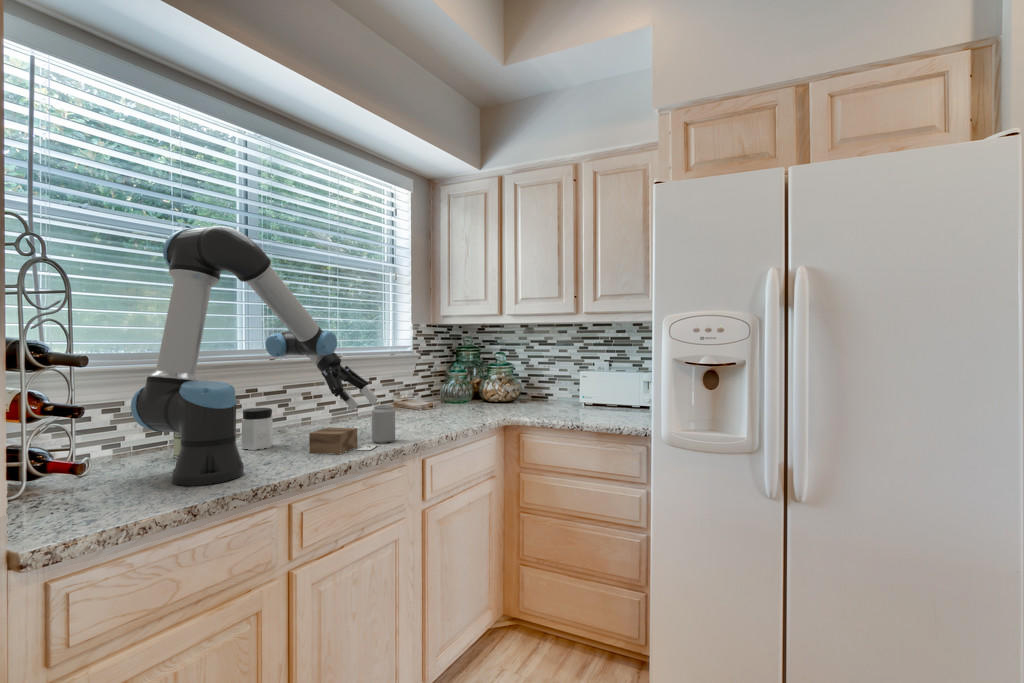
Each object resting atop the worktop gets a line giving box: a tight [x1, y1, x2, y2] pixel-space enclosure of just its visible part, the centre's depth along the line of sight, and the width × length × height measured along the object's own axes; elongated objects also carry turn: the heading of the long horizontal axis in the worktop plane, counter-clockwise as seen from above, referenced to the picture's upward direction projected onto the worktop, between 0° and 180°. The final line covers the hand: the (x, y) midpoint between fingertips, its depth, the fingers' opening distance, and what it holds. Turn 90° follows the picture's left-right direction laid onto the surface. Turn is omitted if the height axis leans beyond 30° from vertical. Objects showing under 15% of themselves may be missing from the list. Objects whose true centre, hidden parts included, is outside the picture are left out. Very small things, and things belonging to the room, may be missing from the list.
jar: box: [241, 407, 274, 451], centre depth 160 cm, size 9×8×12 cm
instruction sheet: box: [362, 444, 380, 448], centre depth 158 cm, size 8×5×1 cm, turn 176°
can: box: [371, 404, 396, 444], centre depth 168 cm, size 8×8×12 cm
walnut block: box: [308, 426, 358, 455], centre depth 155 cm, size 10×10×6 cm
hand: (366, 404), depth 170 cm, fingers open, 13 cm apart
